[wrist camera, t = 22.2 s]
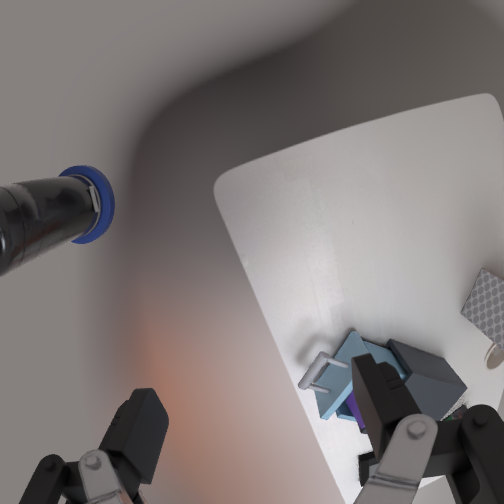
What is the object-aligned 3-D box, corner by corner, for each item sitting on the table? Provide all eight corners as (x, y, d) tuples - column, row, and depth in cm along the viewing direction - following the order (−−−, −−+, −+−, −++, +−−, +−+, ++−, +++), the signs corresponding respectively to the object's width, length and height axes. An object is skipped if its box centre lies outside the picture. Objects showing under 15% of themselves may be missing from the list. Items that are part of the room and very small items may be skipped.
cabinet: (347, 395, 45) (360, 433, 36) (390, 338, 42) (413, 372, 33) (404, 408, 47) (421, 440, 38) (444, 358, 43) (467, 387, 35)
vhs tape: (390, 445, 50) (393, 451, 48) (387, 472, 54) (389, 477, 52) (358, 455, 51) (360, 462, 49) (359, 481, 54) (361, 486, 52)
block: (345, 401, 37) (360, 428, 34) (352, 390, 34) (369, 420, 31) (365, 390, 38) (381, 417, 35) (374, 378, 35) (392, 407, 32)
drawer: (286, 378, 43) (289, 411, 36) (323, 319, 40) (335, 348, 33) (376, 402, 45) (388, 431, 38) (414, 353, 42) (433, 379, 35)
